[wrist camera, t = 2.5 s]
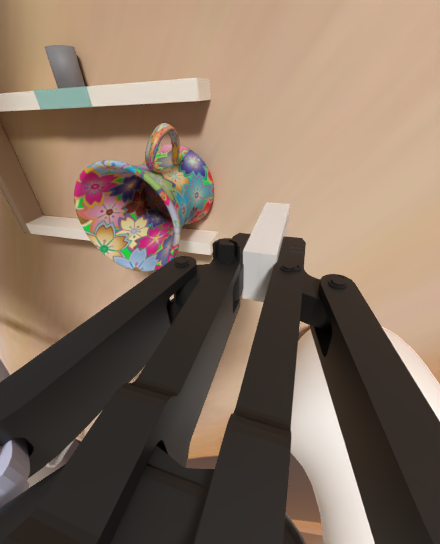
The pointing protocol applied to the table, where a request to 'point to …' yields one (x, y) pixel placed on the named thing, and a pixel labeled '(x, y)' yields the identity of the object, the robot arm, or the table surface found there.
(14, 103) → the teal-striped rail frame
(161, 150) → the mug
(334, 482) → the vase
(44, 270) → the table surface
